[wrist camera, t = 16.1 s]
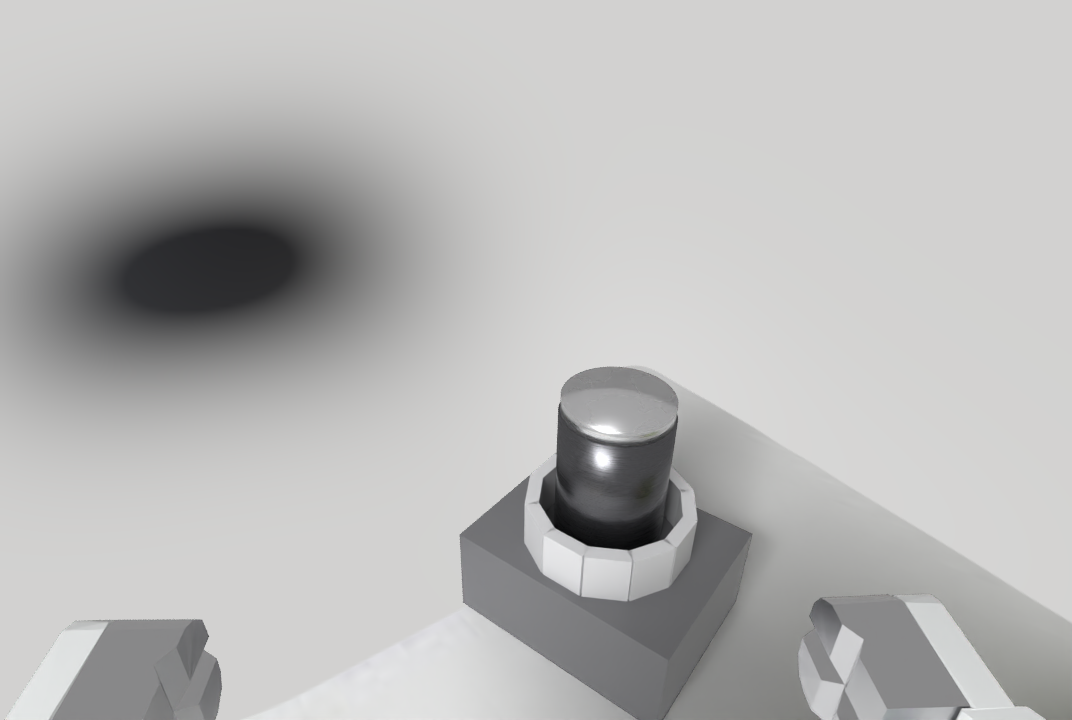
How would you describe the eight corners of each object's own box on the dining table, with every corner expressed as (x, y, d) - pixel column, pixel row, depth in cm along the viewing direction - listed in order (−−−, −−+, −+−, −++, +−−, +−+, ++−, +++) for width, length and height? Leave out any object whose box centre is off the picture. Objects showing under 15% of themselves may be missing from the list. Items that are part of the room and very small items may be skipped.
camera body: (463, 602, 44) (457, 496, 39) (560, 509, 52) (565, 411, 47) (655, 731, 37) (676, 620, 32) (735, 600, 44) (761, 496, 40)
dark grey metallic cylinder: (532, 541, 40) (534, 402, 35) (590, 485, 45) (599, 354, 40) (625, 594, 37) (643, 448, 32) (677, 527, 42) (700, 391, 37)
